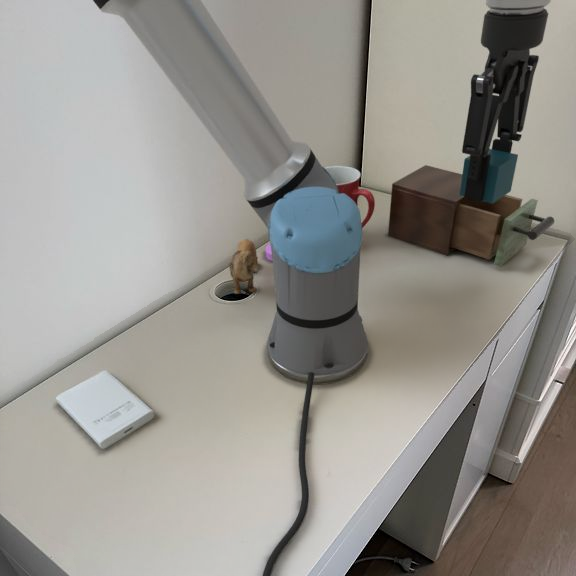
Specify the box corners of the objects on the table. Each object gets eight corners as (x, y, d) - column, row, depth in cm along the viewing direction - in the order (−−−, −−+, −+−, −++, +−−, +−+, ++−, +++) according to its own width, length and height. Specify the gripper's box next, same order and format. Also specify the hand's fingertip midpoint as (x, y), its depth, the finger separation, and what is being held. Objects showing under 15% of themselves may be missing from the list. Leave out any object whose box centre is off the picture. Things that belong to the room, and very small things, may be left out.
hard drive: (109, 377, 81) (155, 417, 74) (58, 405, 77) (102, 450, 70) (106, 368, 80) (153, 409, 73) (54, 396, 76) (99, 442, 69)
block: (510, 191, 83) (518, 154, 79) (492, 204, 80) (499, 166, 76) (478, 183, 86) (484, 147, 82) (459, 195, 83) (464, 158, 79)
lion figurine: (264, 302, 94) (260, 256, 88) (233, 305, 94) (227, 259, 88) (258, 260, 105) (254, 216, 99) (231, 263, 105) (225, 219, 99)
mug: (304, 244, 109) (302, 177, 100) (331, 227, 114) (331, 161, 105) (355, 262, 103) (358, 193, 94) (382, 243, 108) (387, 176, 99)
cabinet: (477, 232, 109) (488, 180, 102) (447, 255, 103) (456, 201, 96) (419, 214, 116) (425, 164, 109) (387, 235, 110) (392, 183, 103)
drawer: (548, 251, 100) (562, 206, 95) (522, 274, 95) (535, 228, 89) (466, 226, 109) (474, 183, 103) (438, 246, 104) (445, 202, 98)
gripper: (507, 24, 61) (474, 220, 76) (580, -3, 70) (536, 177, 85) (449, 20, 65) (428, 206, 80) (524, -5, 74) (492, 166, 89)
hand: (484, 191), depth 83 cm, fingers closed on block, 5 cm apart
